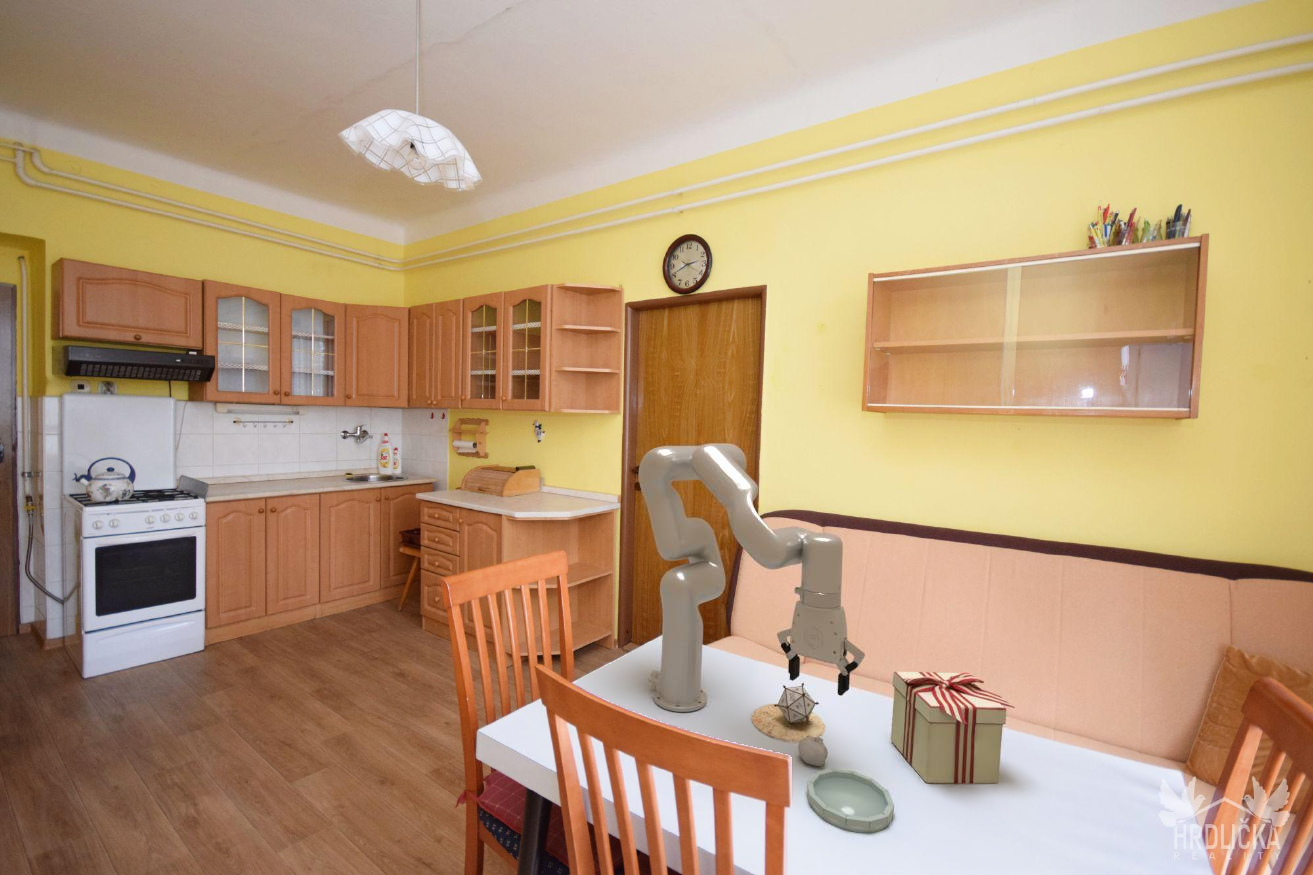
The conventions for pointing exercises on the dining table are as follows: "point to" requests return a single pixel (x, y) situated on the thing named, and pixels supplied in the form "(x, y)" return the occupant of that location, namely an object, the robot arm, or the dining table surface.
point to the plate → (850, 800)
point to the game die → (796, 704)
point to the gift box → (948, 727)
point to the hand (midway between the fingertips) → (817, 685)
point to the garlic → (813, 750)
